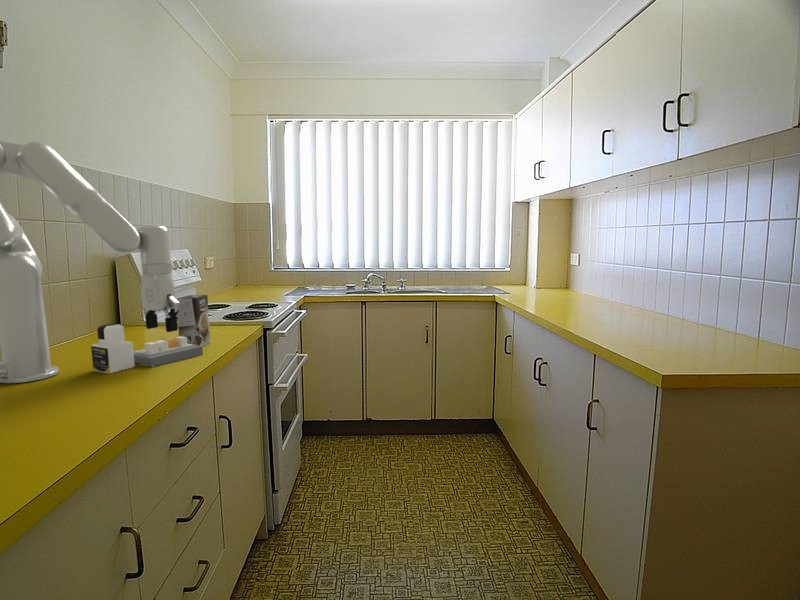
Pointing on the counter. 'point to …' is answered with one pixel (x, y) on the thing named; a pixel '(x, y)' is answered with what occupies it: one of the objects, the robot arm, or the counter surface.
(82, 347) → the counter surface
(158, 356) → the breaker panel
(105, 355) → the medicine bottle
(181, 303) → the coffee box
